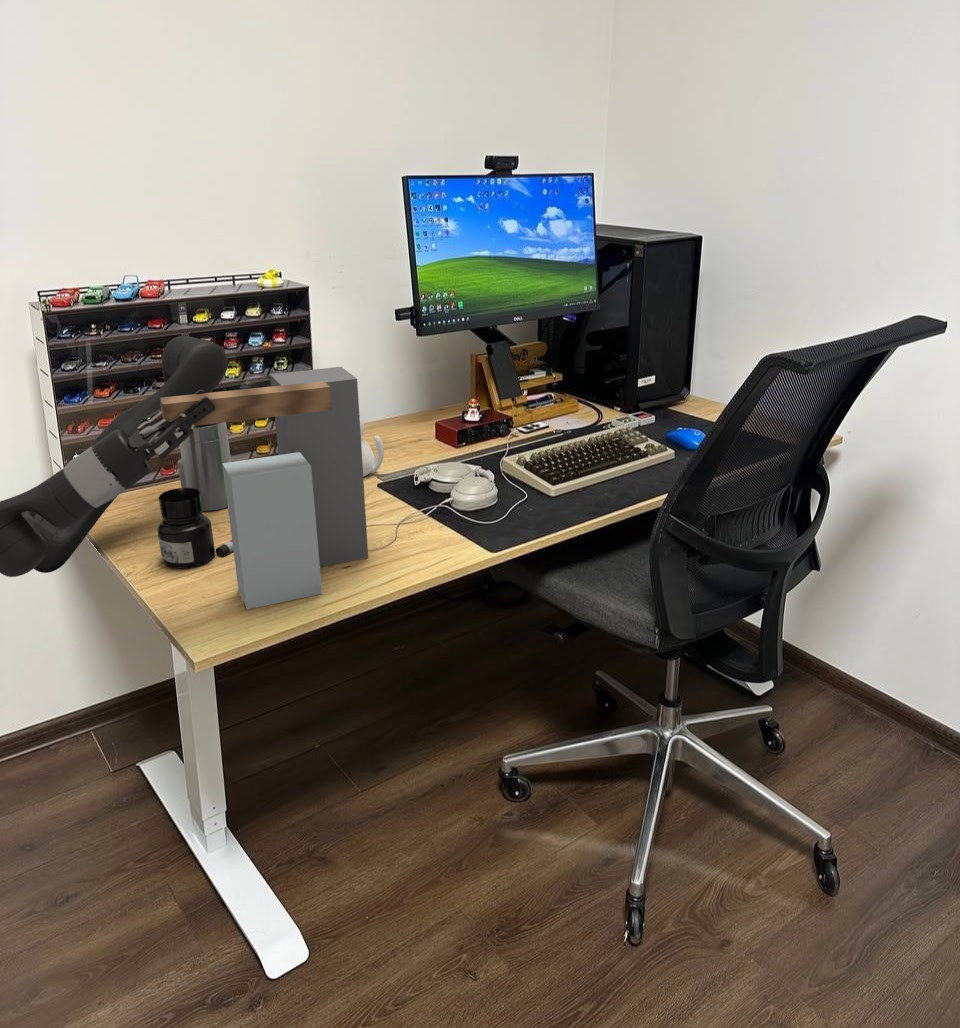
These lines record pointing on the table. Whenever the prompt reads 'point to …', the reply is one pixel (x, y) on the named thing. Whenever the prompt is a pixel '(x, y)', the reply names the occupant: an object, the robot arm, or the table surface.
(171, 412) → the walnut bar
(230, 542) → the marker
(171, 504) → the ink bottle
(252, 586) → the blue-grey step
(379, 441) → the cat figurine
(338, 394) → the charcoal stand
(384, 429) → the table surface
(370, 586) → the table surface
